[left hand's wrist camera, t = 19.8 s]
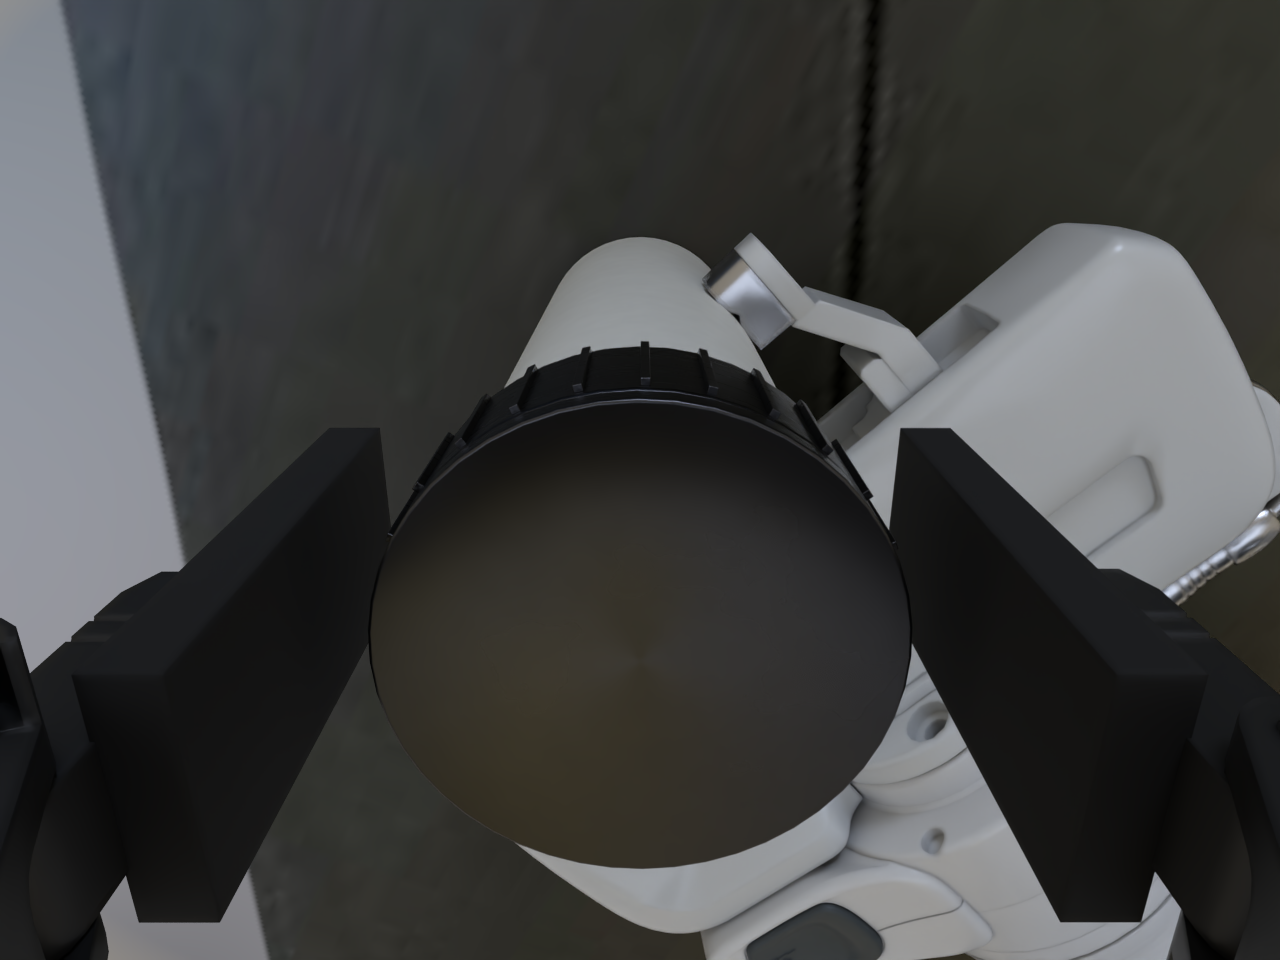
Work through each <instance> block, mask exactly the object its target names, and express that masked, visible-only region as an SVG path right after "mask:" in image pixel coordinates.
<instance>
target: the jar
mask: <svg viewBox="0 0 1280 960" xmlns="http://www.w3.org/2000/svg"><path fill="white" fill-rule="evenodd" d="M710 270H711V269H710V268H709V267H708V266H707V265H706V264H705V263H704V262H703V261H702V260H701V259H700V258H698V257H697V256H696V255H694V254H693V253H691V252H690V251H688V250H686V249H684V248H683V247H681V246H679V245H676V244H674V243H671V242H668V241H665V240H660V239H656V238H647V237H634V238H625V239H620V240H615V241H612V242H609V243H606V244H604V245H602V246H600V247H598V248H596V249H594V250H592V251H591V252H589V253H588V254H586V255H585V256H583V257H582V258H581V259H580V260H579V261H578V262H576V263H575V264H574V265H573V266H572V268H571V269H570V270H569V271H568V272H567V273H566V275H565V276H564V278H563V279H562V281H561V282H560V284H559V286H558V288H557V289H556V291H555V293H554V295H553V297H552V299H551V301H550V303H549V305H548V306H547V308H546V310H545V312H544V314H543V316H542V318H541V320H540V322H539V323H538V325H537V327H536V329H535V331H534V333H533V335H532V337H531V338H530V340H529V342H528V344H527V346H526V348H525V350H524V352H523V354H522V355H521V357H520V359H519V361H518V363H517V365H516V367H515V369H514V371H513V372H512V374H511V376H510V378H509V380H508V382H507V384H506V386H505V387H507V386H508V385H510V384H511V383H513V382H514V381H516V380H517V379H519V378H521V377H523V376H524V374H525V372H526V370H527V368H528V367H530V366H532V365H534V364H535V365H536V367H537V368H538V369H539V368H541V367H543V366H545V365H548V364H551V363H553V362H556V361H559V360H562V359H565V358H568V357H571V356H574V355H578V354H581V351H582V348H584V347H588V346H590V347H591V350H592V351H597V350H602V349H609V348H622V347H635V346H640V342H641V341H649V347H660V348H672V349H678V350H683V351H688V352H694V353H698V350H699V348H701V349H705V350H707V351H708V355H709V357H712V358H715V359H719V360H722V361H725V362H728V363H731V364H733V365H735V366H737V367H739V368H741V369H744V370H746V371H748V372H750V373H751V371H752V370H753V368H755V369H757V370H759V371H760V372H761V373H762V375H763V377H764V379H765V381H766V382H768V383H769V384H771V385H772V386H774V387H775V385H774V383H773V381H772V379H771V377H770V375H769V373H768V371H767V370H766V368H765V366H764V364H763V362H762V360H761V358H760V356H759V355H758V353H757V351H756V349H755V347H754V345H753V343H752V341H751V339H750V338H749V336H748V335H747V333H746V332H745V330H744V329H743V328H742V326H741V325H740V323H739V321H738V319H737V317H736V315H735V314H733V313H729V312H728V311H727V310H726V309H725V308H724V307H723V306H722V305H720V304H719V303H718V302H717V301H716V300H715V298H714V297H713V296H712V295H711V294H710V292H709V291H708V290H707V289H706V287H705V286H704V282H703V281H702V278H703V277H704V276H705V275H706V274H707V273H708V272H709V271H710ZM775 388H776V387H775Z"/></svg>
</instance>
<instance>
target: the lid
mask: <svg viewBox="0 0 1280 960" xmlns="http://www.w3.org/2000/svg"><path fill="white" fill-rule="evenodd" d="M412 489H413V490H414V492H413V494H412V496H411V497H410V499H409V500H408V502H407V503H406V505H405V507H404V508H403V510H402V511H401V513H400V515H399V516H398V518H397V519H396V521H395V523H394V524H393V526H392V527H391V529H390V531H389V532H388V534H387V536H386V539H385V541H386V542H389V544H388V546H387V548H386V551H385V553H384V556H383V558H382V561H381V563H380V565H379V568H378V571H377V575H376V579H375V583H374V588H373V592H372V596H371V600H370V612H369V623H368V641H369V656H370V664H371V669H372V673H373V678H374V683H375V687H376V692H377V695H378V697H379V700H380V703H381V705H382V708H383V711H384V713H385V716H386V719H387V721H388V723H389V725H390V727H391V728H392V730H393V732H394V734H395V736H396V738H397V739H398V741H399V743H400V745H401V747H402V748H403V750H404V751H405V752H406V754H407V755H408V756H409V758H410V759H411V761H412V762H413V763H414V765H415V766H416V767H417V769H418V770H419V771H420V773H421V774H422V775H423V776H424V777H425V778H426V779H427V780H428V781H429V782H430V783H431V784H432V785H433V786H434V787H435V788H436V789H437V790H438V792H439V793H440V794H441V795H443V796H444V797H445V798H446V799H447V800H449V801H450V802H451V803H452V804H454V805H455V806H456V807H457V808H458V809H460V810H461V811H462V812H463V813H465V814H466V815H468V816H469V817H471V818H472V819H474V820H475V821H477V822H478V823H480V824H482V825H483V826H485V827H486V828H488V829H489V830H491V831H493V832H495V833H497V834H499V835H501V836H503V837H505V838H507V839H509V840H511V841H513V842H515V843H517V844H519V845H522V846H524V847H527V848H530V849H533V850H535V851H538V852H541V853H544V854H546V855H549V856H553V857H557V858H561V859H565V860H569V861H573V862H577V863H582V864H589V865H596V866H603V867H610V868H629V869H653V868H670V867H679V866H685V865H691V864H698V863H704V862H708V861H712V860H716V859H720V858H723V857H727V856H731V855H734V854H738V853H740V852H743V851H745V850H748V849H751V848H753V847H756V846H758V845H761V844H764V843H766V842H768V841H770V840H772V839H774V838H776V837H778V836H780V835H782V834H783V833H785V832H787V831H789V830H791V829H793V828H795V827H796V826H798V825H799V824H801V823H802V822H804V821H805V820H807V819H808V818H810V817H811V816H813V815H814V814H816V813H817V812H819V811H820V810H821V809H822V808H824V807H825V806H826V805H827V804H828V803H829V802H831V801H832V800H833V799H834V798H835V797H837V796H838V795H839V794H840V793H841V792H842V791H843V790H844V789H845V788H846V787H847V786H848V785H849V784H850V783H851V782H852V781H853V780H854V778H855V777H856V776H857V775H858V774H859V773H860V772H861V771H862V770H863V769H864V767H865V766H866V764H867V763H868V762H869V760H870V759H871V757H872V756H873V754H874V753H875V752H876V750H877V749H878V747H879V746H880V744H881V743H882V741H883V739H884V737H885V735H886V733H887V731H888V729H889V728H890V726H891V724H892V722H893V720H894V718H895V716H896V713H897V710H898V707H899V704H900V701H901V699H902V696H903V693H904V690H905V687H906V682H907V677H908V672H909V666H910V661H911V655H912V630H913V624H912V615H911V606H910V597H909V592H908V588H907V585H906V581H905V577H904V574H903V570H902V566H901V563H900V561H899V558H898V556H897V554H896V552H895V550H898V546H897V543H896V541H895V539H894V538H893V536H892V534H891V533H890V531H889V530H888V528H887V526H886V525H885V523H884V522H883V520H882V518H881V517H880V515H879V514H878V512H877V510H876V509H875V507H874V506H873V504H872V502H871V501H870V499H871V498H872V497H873V494H872V493H871V491H870V490H869V488H868V487H867V485H866V484H865V482H864V480H863V479H862V477H861V476H860V474H859V473H858V471H857V469H856V468H855V466H854V465H853V463H852V462H851V460H850V459H849V457H848V455H847V454H846V452H845V451H844V449H843V448H842V446H841V444H840V443H839V442H838V440H837V439H835V440H834V441H832V442H830V440H829V439H828V437H827V436H826V434H825V433H824V432H823V431H822V429H821V428H820V426H819V424H818V423H817V421H816V420H815V418H814V416H813V415H812V413H811V411H810V410H809V408H808V406H807V405H806V403H805V402H803V401H802V400H801V399H800V400H799V401H798V402H797V403H795V402H794V401H793V400H791V399H790V398H789V397H788V396H787V395H786V394H784V393H783V392H781V391H780V390H778V389H777V388H775V387H774V386H772V385H771V384H769V383H768V382H766V381H765V379H764V377H763V375H762V373H761V372H760V371H759V370H757V369H755V368H753V370H752V371H751V373H750V372H748V371H746V370H744V369H741V368H739V367H737V366H735V365H733V364H731V363H728V362H725V361H722V360H719V359H715V358H712V357H709V355H708V351H707V350H705V349H701V348H699V350H698V353H694V352H688V351H683V350H678V349H672V348H660V347H649V341H641V342H640V346H635V347H622V348H609V349H602V350H597V351H592V350H591V347H590V346H588V347H584V348H582V351H581V354H578V355H574V356H571V357H568V358H565V359H562V360H559V361H556V362H553V363H551V364H548V365H545V366H543V367H541V368H539V369H538V368H537V367H536V365H535V364H534V365H532V366H530V367H528V368H527V370H526V372H525V374H524V376H523V377H521V378H519V379H517V380H516V381H514V382H513V383H511V384H510V385H508V386H507V387H505V388H504V389H502V390H501V391H500V392H498V393H497V394H495V395H494V396H492V397H490V396H489V395H488V394H485V395H484V396H483V397H482V398H481V399H480V401H479V402H478V404H477V406H476V407H475V409H474V411H473V413H472V414H471V416H470V417H469V418H468V420H467V421H466V422H465V423H464V425H463V426H462V427H461V428H460V429H459V431H458V432H457V433H456V434H455V435H452V434H451V433H448V434H447V435H446V437H445V438H444V440H443V441H442V443H441V444H440V446H439V447H438V449H437V450H436V452H435V454H434V455H433V457H432V458H431V460H430V461H429V463H428V465H427V466H426V468H425V469H424V471H423V472H422V474H421V476H420V477H419V479H418V480H417V482H416V483H415V485H414V486H413V488H412Z"/></svg>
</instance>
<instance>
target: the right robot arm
mask: <svg viewBox="0 0 1280 960" xmlns="http://www.w3.org/2000/svg"><path fill="white" fill-rule="evenodd" d="M734 249H735V250H736V251H735V250H734ZM734 249H732V250H731V251H730V252H729V253H728V254H727V255H726V256H725V257H724V258H723V259H722V260H721V261H720V262H719V263H718V264H717V265H716V266H715V267H714V268H713V269H712V270H710V271H709V272H708V273H707V274H706V275H705V276H704V277H703V278H702V281H703V282H704V286H705V287H706V289H707V290H708V291H709V292H710V294H711V295H712V296H713V297H714V298H715V300H716V301H717V302H718V303H719V304H720V305H722V306H723V307H724V308H725V309H726V310H727V311H728V312H729V313H733V314H735V315H736V317H737V319H738V321H739V323H740V325H741V326H742V328H743V329H744V330H745V332H746V333H747V335H748V336H749V337H750V338H751V340H752V341H753V342H754V343H755V344H756V345H757V346H758V347H759V348H760V349H761V350H762V349H763V348H764V347H765V346H767V345H768V344H769V343H770V342H771V341H772V340H774V339H775V338H776V337H777V336H778V335H780V334H781V333H782V332H783V331H784V330H785V329H787V328H788V327H789V326H790V325H792V327H795V328H798V329H801V330H804V331H808V332H811V333H814V334H817V335H820V336H823V337H826V338H829V339H833V340H836V341H839V342H842V343H845V345H844V346H843V347H841V351H840V355H841V357H842V358H843V359H844V360H845V361H846V362H847V364H848V365H849V366H850V367H851V368H852V369H853V371H854V372H855V373H856V374H857V375H858V377H859V378H860V379H861V380H862V381H863V383H862V384H861V385H859V386H858V387H857V388H856V389H855V390H853V391H852V392H851V393H850V394H849V395H847V396H846V397H845V398H844V399H843V400H842V401H840V402H839V403H838V404H837V405H836V406H834V407H833V408H832V409H831V410H830V411H828V412H827V413H826V414H825V415H824V416H822V417H821V418H820V419H819V420H818V421H817V423H818V424H819V426H820V428H821V429H822V431H823V432H824V433H825V434H826V436H827V437H828V439H829V440H830V442H832V441H834V440H835V439H837V440H838V442H839V443H840V444H841V446H842V448H843V449H844V451H845V452H846V454H847V455H848V457H849V459H850V460H851V462H852V463H853V465H854V466H855V468H856V469H857V471H858V473H859V474H860V476H861V477H862V479H863V480H864V482H865V484H866V485H867V487H868V488H869V490H870V491H871V493H872V494H873V497H872V498H871V499H870V501H871V502H872V504H873V506H874V507H875V509H876V510H877V512H878V514H879V515H880V517H881V518H882V520H883V522H884V523H885V525H886V526H887V528H888V530H889V525H890V516H891V507H892V498H893V489H894V480H895V471H896V462H897V453H898V445H899V436H900V428H951V429H952V430H953V431H954V432H955V433H956V434H957V435H958V436H959V437H960V438H962V439H963V440H964V441H965V442H966V443H967V444H968V445H969V446H970V447H971V448H972V449H973V450H974V451H975V452H976V453H977V454H978V455H979V456H980V457H981V458H982V459H984V460H985V461H986V462H987V463H988V464H989V465H990V466H991V467H992V468H993V469H994V470H995V471H996V472H997V473H998V474H999V475H1000V476H1001V477H1002V478H1003V479H1004V480H1006V481H1007V482H1008V483H1009V484H1010V485H1011V486H1012V487H1013V488H1014V489H1015V490H1016V491H1017V492H1018V493H1019V494H1020V495H1021V496H1022V497H1023V498H1024V499H1025V500H1026V501H1028V502H1029V503H1030V504H1031V505H1032V506H1033V507H1034V508H1035V509H1036V510H1037V511H1038V512H1039V513H1040V514H1041V515H1042V516H1043V517H1044V518H1045V519H1046V520H1047V521H1048V522H1050V523H1051V524H1052V525H1053V526H1054V527H1055V528H1056V529H1057V530H1058V531H1059V532H1060V533H1061V534H1062V535H1063V536H1064V537H1065V538H1066V539H1067V540H1068V541H1069V542H1071V543H1072V544H1073V545H1074V546H1075V547H1076V548H1077V549H1078V550H1079V551H1080V552H1081V553H1082V554H1083V555H1084V556H1085V557H1086V558H1087V559H1088V560H1089V561H1090V562H1091V563H1093V564H1094V565H1095V566H1096V567H1097V568H1098V569H1121V570H1123V571H1125V572H1127V573H1129V574H1131V575H1133V576H1135V577H1137V578H1139V579H1140V580H1142V581H1144V582H1146V583H1148V584H1150V585H1152V586H1154V587H1156V588H1158V589H1160V590H1161V591H1162V592H1163V593H1164V594H1166V595H1167V596H1168V597H1169V598H1170V599H1171V600H1172V601H1174V602H1175V603H1176V604H1177V605H1178V606H1180V605H1182V604H1183V603H1184V602H1186V601H1187V600H1188V599H1189V598H1188V597H1189V596H1190V597H1191V596H1192V595H1194V594H1195V593H1196V592H1197V589H1200V588H1201V587H1203V586H1204V585H1205V584H1206V581H1210V580H1212V579H1213V578H1214V577H1216V574H1220V573H1222V572H1223V571H1225V570H1226V569H1227V568H1229V567H1230V566H1232V565H1233V564H1234V565H1239V564H1241V563H1243V562H1244V561H1246V560H1248V559H1250V558H1251V557H1253V556H1254V555H1256V554H1257V553H1259V552H1260V551H1261V550H1263V549H1264V548H1265V547H1266V546H1267V545H1268V544H1269V543H1271V542H1272V541H1273V540H1274V539H1275V538H1276V537H1277V536H1278V534H1279V533H1280V521H1279V520H1278V519H1277V518H1278V517H1279V516H1280V404H1279V403H1278V401H1277V400H1276V398H1275V397H1274V396H1273V394H1272V393H1271V392H1270V391H1269V390H1267V389H1266V388H1265V387H1264V386H1263V385H1261V384H1260V383H1258V382H1256V381H1254V380H1252V379H1250V378H1249V376H1248V374H1247V371H1246V369H1245V367H1244V364H1243V362H1242V360H1241V358H1240V356H1239V354H1238V352H1237V349H1236V347H1235V345H1234V343H1233V341H1232V339H1231V337H1230V335H1229V333H1228V331H1227V329H1226V327H1225V326H1224V324H1223V322H1222V320H1221V318H1220V316H1219V315H1218V313H1217V311H1216V309H1215V307H1214V305H1213V304H1212V302H1211V300H1210V298H1209V297H1208V295H1207V293H1206V292H1205V290H1204V288H1203V287H1202V285H1201V283H1200V282H1199V280H1198V278H1197V276H1196V275H1195V273H1194V272H1193V270H1192V269H1191V267H1190V266H1189V264H1188V263H1187V261H1186V260H1185V259H1184V258H1183V256H1182V255H1181V254H1180V253H1179V252H1178V251H1177V250H1176V249H1175V248H1174V247H1173V246H1171V245H1170V244H1168V243H1166V242H1165V241H1163V240H1161V239H1159V238H1157V237H1154V236H1151V235H1149V234H1146V233H1143V232H1139V231H1135V230H1131V229H1126V228H1122V227H1116V226H1107V225H1097V224H1079V223H1061V224H1057V225H1054V226H1051V227H1049V228H1048V229H1046V230H1045V231H1043V232H1042V233H1041V234H1039V235H1038V236H1037V237H1035V238H1034V239H1033V240H1032V241H1031V242H1030V243H1028V244H1027V245H1026V246H1025V247H1024V248H1022V249H1021V250H1020V251H1019V252H1018V253H1017V254H1015V255H1014V256H1013V257H1012V258H1011V259H1009V260H1008V261H1007V262H1006V263H1005V264H1004V265H1002V266H1001V267H1000V268H999V269H998V270H996V271H995V272H994V273H993V274H992V275H990V276H989V277H988V278H987V279H986V280H984V281H983V282H982V283H981V284H980V285H978V286H977V287H976V288H975V289H974V290H973V291H971V292H970V293H969V294H968V295H967V296H965V297H964V298H963V299H962V300H961V301H959V302H958V303H957V304H956V305H955V306H953V307H952V308H951V309H950V310H949V311H947V312H946V313H945V314H944V315H943V316H942V317H940V318H939V319H938V320H937V321H936V322H934V323H933V324H932V325H931V326H930V327H928V328H927V329H926V330H925V331H924V332H922V333H921V334H920V335H919V336H918V337H917V338H916V337H915V336H914V335H913V334H912V333H911V331H910V330H909V329H908V328H906V327H905V326H904V325H902V324H901V323H899V322H898V321H897V320H895V319H894V318H893V317H891V316H890V315H889V314H887V313H886V312H885V311H883V310H880V309H877V308H874V307H871V306H867V305H864V304H861V303H858V302H854V301H851V300H848V299H845V298H841V297H838V296H835V295H832V294H828V293H825V292H822V291H819V290H815V289H812V288H809V287H806V286H805V287H804V288H803V289H802V288H801V287H800V286H799V285H798V284H797V283H796V281H795V280H794V279H793V278H792V277H791V276H790V275H789V273H788V272H787V271H786V270H785V269H784V268H783V266H782V265H781V264H780V263H779V262H778V261H777V260H776V258H775V257H774V256H773V255H772V254H771V253H770V251H769V250H768V249H767V248H766V247H765V246H764V245H763V244H762V243H761V242H760V241H759V240H758V239H757V238H756V237H755V236H754V235H753V234H752V233H750V234H749V235H747V236H746V237H745V238H744V239H743V240H742V241H741V242H740V243H739V244H738V245H737V246H736V247H735V248H734ZM516 844H517V843H516ZM517 845H519V844H517ZM519 846H520V847H521V848H522V849H524V850H525V851H526V852H527V853H529V854H530V855H531V856H532V857H534V858H535V859H536V860H538V861H539V862H541V863H542V864H543V865H545V866H546V867H547V868H549V869H550V870H551V871H553V872H554V873H555V874H557V875H558V876H560V877H561V878H562V879H564V880H565V881H567V882H568V883H570V884H571V885H572V886H574V887H575V888H577V889H578V890H580V891H581V892H583V893H584V894H586V895H587V896H589V897H590V898H592V899H593V900H595V901H596V902H598V903H599V904H601V905H603V906H604V907H606V908H607V909H609V910H611V911H612V912H614V913H616V914H617V915H619V916H621V917H623V918H625V919H627V920H629V921H631V922H633V923H635V924H637V925H640V926H643V927H646V928H649V929H652V930H656V931H661V932H667V933H692V932H699V931H700V932H701V937H702V942H703V946H704V951H705V956H706V960H921V959H928V958H937V957H946V956H952V955H958V954H962V953H965V954H967V955H969V956H971V957H973V958H975V959H976V960H1166V959H1167V956H1168V952H1169V949H1170V945H1171V942H1172V939H1173V935H1174V932H1175V928H1176V925H1177V922H1178V918H1179V915H1180V911H1181V908H1180V907H1179V905H1178V904H1177V902H1176V901H1175V900H1174V898H1173V897H1172V895H1171V894H1170V892H1169V891H1168V889H1167V888H1166V887H1165V885H1164V884H1163V882H1162V881H1161V879H1160V878H1159V877H1158V875H1157V874H1156V872H1155V874H1154V877H1153V881H1152V885H1151V888H1150V892H1149V896H1148V899H1147V903H1146V906H1145V910H1144V914H1143V917H1142V921H1141V922H1060V921H1059V919H1058V917H1057V915H1056V914H1055V912H1054V910H1053V908H1052V906H1051V904H1050V902H1049V900H1048V898H1047V897H1046V895H1045V893H1044V891H1043V889H1042V887H1041V885H1040V883H1039V882H1038V880H1037V878H1036V876H1035V874H1034V872H1033V870H1032V868H1031V867H1030V865H1029V863H1028V861H1027V859H1026V857H1025V855H1024V853H1023V851H1022V850H1021V848H1020V846H1019V844H1018V842H1017V840H1016V838H1015V836H1014V835H1013V833H1012V831H1011V829H1010V827H1009V825H1008V823H1007V821H1006V819H1005V818H1004V816H1003V814H1002V812H1001V810H1000V808H999V806H998V804H997V803H996V801H995V799H994V797H993V795H992V793H991V791H990V789H989V787H988V786H987V784H986V782H985V780H984V778H983V776H982V774H981V772H980V771H979V769H978V767H977V765H976V763H975V761H974V759H973V757H972V755H971V754H970V752H969V750H968V748H967V746H966V744H965V742H964V740H963V739H962V737H961V735H960V733H959V731H958V729H957V727H956V725H955V723H954V722H953V720H952V718H951V716H950V714H949V712H948V710H947V708H946V707H945V705H944V703H943V701H942V699H941V697H940V695H939V693H938V692H937V690H936V688H935V686H934V684H933V682H932V680H931V678H930V676H929V675H928V673H927V671H926V669H925V667H924V665H923V663H922V661H921V660H920V658H919V656H918V654H917V652H916V650H915V648H914V646H913V644H912V655H911V661H910V666H909V672H908V677H907V682H906V687H905V690H904V693H903V696H902V699H901V701H900V704H899V707H898V710H897V713H896V716H895V718H894V720H893V722H892V724H891V726H890V728H889V729H888V731H887V733H886V735H885V737H884V739H883V741H882V743H881V744H880V746H879V747H878V749H877V750H876V752H875V753H874V754H873V756H872V757H871V759H870V760H869V762H868V763H867V764H866V766H865V767H864V769H863V770H862V771H861V772H860V773H859V774H858V775H857V776H856V777H855V778H854V780H853V781H852V782H851V783H850V784H849V785H848V786H847V787H846V788H845V789H844V790H843V791H842V792H841V793H840V794H839V795H838V796H837V797H835V798H834V799H833V800H832V801H831V802H829V803H828V804H827V805H826V806H825V807H824V808H822V809H821V810H820V811H819V812H817V813H816V814H814V815H813V816H811V817H810V818H808V819H807V820H805V821H804V822H802V823H801V824H799V825H798V826H796V827H795V828H793V829H791V830H789V831H787V832H785V833H783V834H782V835H780V836H778V837H776V838H774V839H772V840H770V841H768V842H766V843H764V844H761V845H758V846H756V847H753V848H751V849H748V850H745V851H743V852H740V853H738V854H734V855H731V856H727V857H723V858H720V859H716V860H712V861H708V862H704V863H698V864H691V865H685V866H679V867H670V868H653V869H629V868H610V867H603V866H596V865H589V864H582V863H577V862H573V861H569V860H565V859H561V858H557V857H553V856H549V855H546V854H544V853H541V852H538V851H535V850H533V849H530V848H527V847H524V846H522V845H519Z"/></svg>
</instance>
